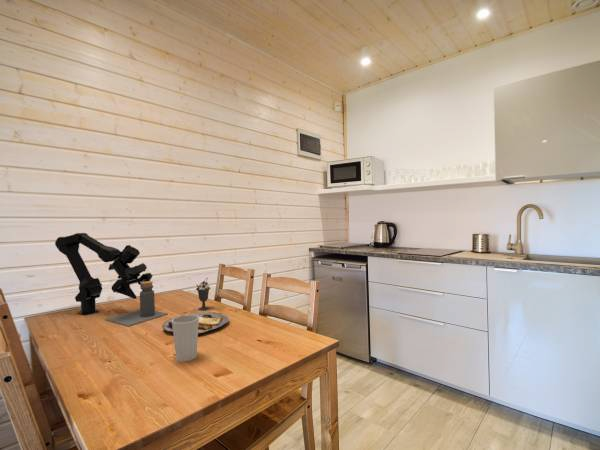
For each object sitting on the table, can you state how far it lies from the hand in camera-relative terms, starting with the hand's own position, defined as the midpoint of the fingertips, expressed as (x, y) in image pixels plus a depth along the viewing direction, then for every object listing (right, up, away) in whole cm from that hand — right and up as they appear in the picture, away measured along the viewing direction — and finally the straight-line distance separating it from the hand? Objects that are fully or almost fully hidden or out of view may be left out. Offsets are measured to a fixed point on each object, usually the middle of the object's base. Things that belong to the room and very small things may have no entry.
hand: (143, 295), depth 136 cm
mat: (-2, -9, -1) cm, 10 cm away
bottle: (+2, -9, 0) cm, 9 cm away
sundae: (+24, -9, +10) cm, 28 cm away
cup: (+35, -9, -42) cm, 56 cm away
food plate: (+29, -9, -14) cm, 33 cm away
